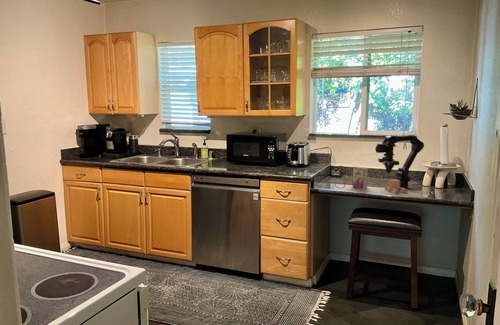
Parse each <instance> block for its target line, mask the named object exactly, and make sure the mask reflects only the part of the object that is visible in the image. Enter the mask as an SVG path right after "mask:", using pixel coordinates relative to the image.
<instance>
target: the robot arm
mask: <svg viewBox="0 0 500 325" xmlns="http://www.w3.org/2000/svg"><path fill="white" fill-rule="evenodd" d="M407 141H409V143H410V144H411V148H410V149H411V150H410V153H409V155H408V156H407V158H406V160H405V162H404V163H403V166H402V167H398V169H397V171H396V174H395V175H396V178H397V180H398V181H399V185H398V187H401V188H404V189H407V190H409V182H411V180H412V179H411V177H410V176H409V174H410V168H411V166H412V164H413V163H414V161H415V159H416V157H417V156H418V153H420V152H421V151H422V150H423V149H424V147H425V144H424V142H423V141H422V140H420V139H419V138H418V137H416V136H415V135H412V134H409V135H408V134H407V135H399V136H395V135H394V136H393V135H386V136H385V137H384V139H383V141H382V143H377V144H376V146H375V152H376V154H381V153H382V154H383V155H382V156H379V157H378V158H377V161H378V163H380V164H382V165H384V168H385V171H386V173H388V174H390V173H391V172H392V169H393V168H394V167H395V166H399V165H400V161H399V160H395V159H394V156H395V153H394V149H395V148H394V147H397V144H396V143H399V142H407Z"/></svg>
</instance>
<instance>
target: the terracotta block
mask: <svg viewBox="0 0 500 325" xmlns="http://www.w3.org/2000/svg"><path fill="white" fill-rule="evenodd" d="M399 184H400V180H398V179H388V187H391V188H394V189H397V190H398V187H399Z"/></svg>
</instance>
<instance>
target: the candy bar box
mask: <svg viewBox="0 0 500 325" xmlns="http://www.w3.org/2000/svg"><path fill="white" fill-rule="evenodd" d="M352 169H353V170H352V187H353V188H355V189H360V190H363V189H364V190H365V189H368V177H369V175H368V173H369V168H368V167H362V166H353V167H352Z"/></svg>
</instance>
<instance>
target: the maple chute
mask: <svg viewBox="0 0 500 325" xmlns="http://www.w3.org/2000/svg"><path fill="white" fill-rule="evenodd" d="M384 190H385V191H387V192H390V193H393V194H396V195H400V193H402V194H405V195H408V194H409V189H404V188H401V187H399V186H398V190H397V189H394V188H391V187H389V185H385V186H384Z"/></svg>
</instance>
